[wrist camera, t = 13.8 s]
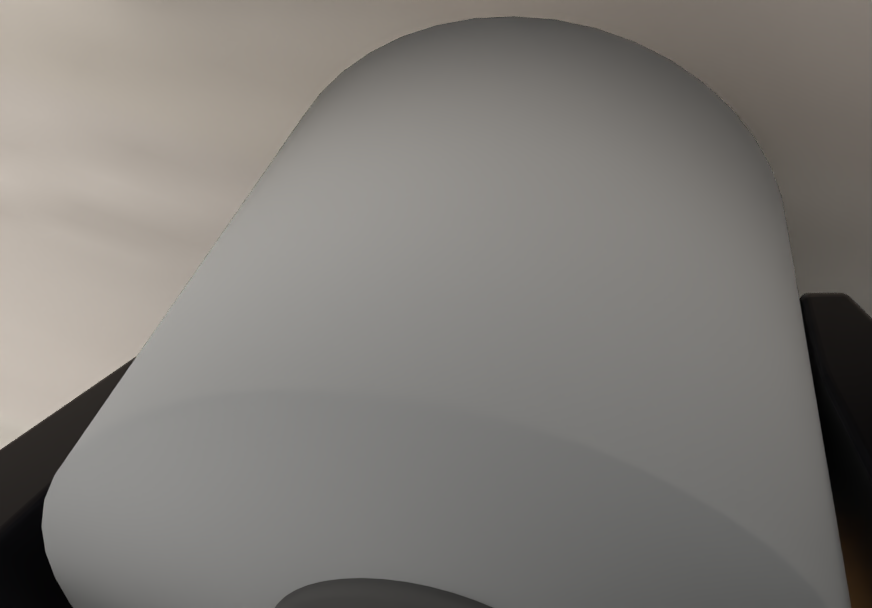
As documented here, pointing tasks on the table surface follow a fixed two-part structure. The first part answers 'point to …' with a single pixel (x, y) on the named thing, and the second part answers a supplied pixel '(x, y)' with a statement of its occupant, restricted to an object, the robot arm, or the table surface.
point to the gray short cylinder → (475, 358)
